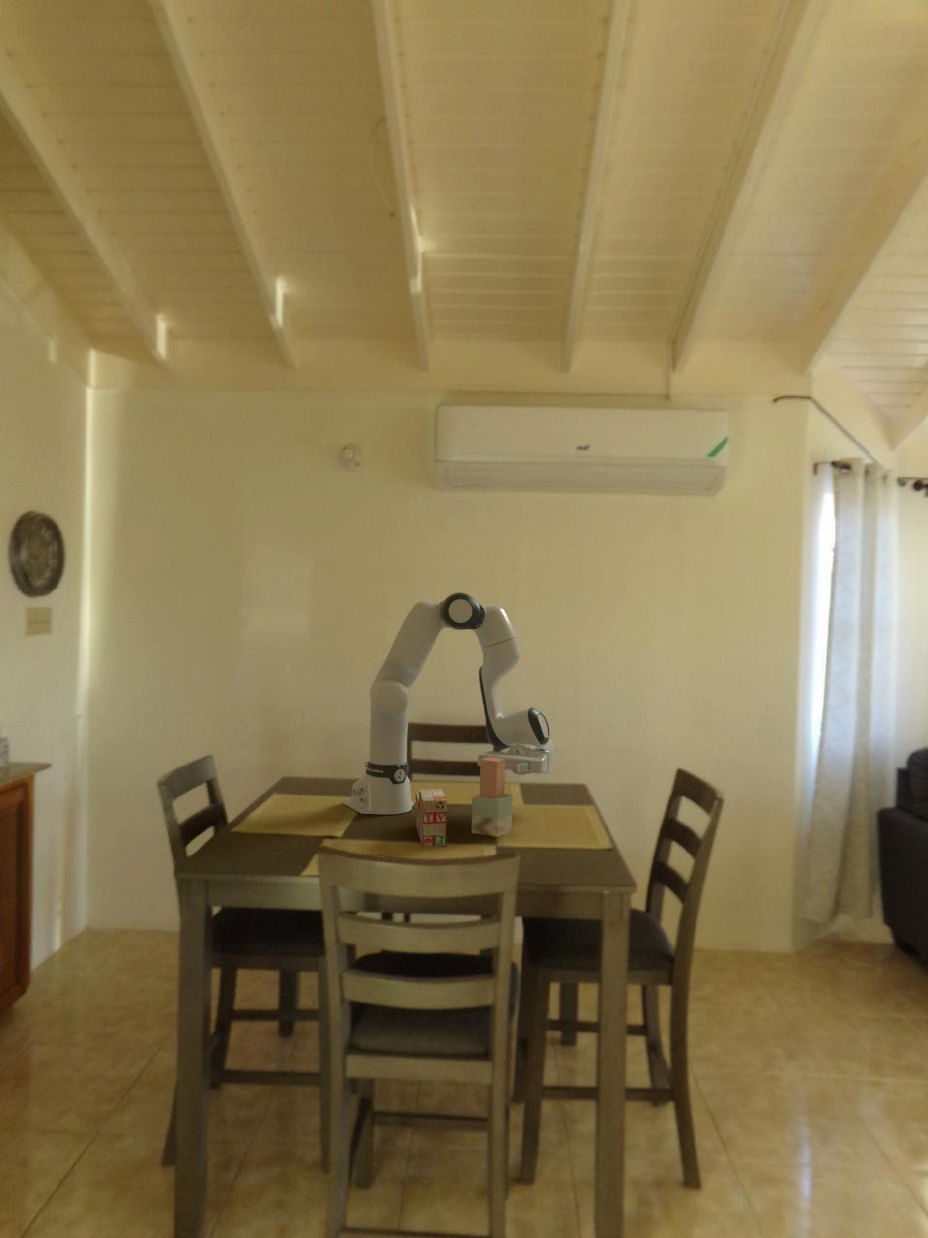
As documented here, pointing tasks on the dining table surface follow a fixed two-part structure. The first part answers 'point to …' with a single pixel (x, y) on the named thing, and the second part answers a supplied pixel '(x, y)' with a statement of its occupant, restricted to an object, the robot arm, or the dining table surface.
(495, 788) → the tall block
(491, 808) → the tower top
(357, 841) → the dining table surface
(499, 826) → the tower bottom
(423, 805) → the stack of blocks
